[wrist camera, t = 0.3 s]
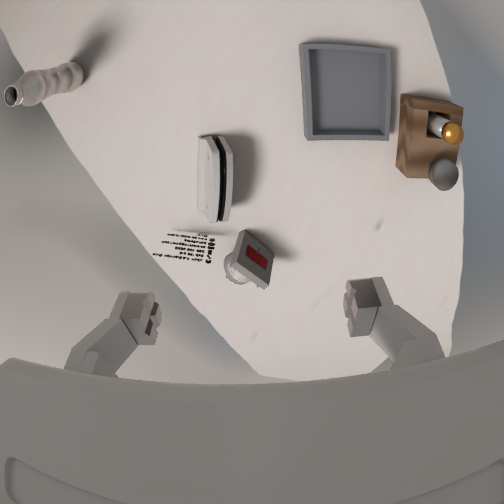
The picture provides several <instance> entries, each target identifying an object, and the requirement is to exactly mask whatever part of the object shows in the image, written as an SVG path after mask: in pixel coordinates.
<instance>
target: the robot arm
mask: <svg viewBox="0 0 504 504" xmlns="http://www.w3.org/2000/svg"><path fill="white" fill-rule="evenodd" d="M346 290H347V292H346V293H345V294H344V300H343V307H344V313H345V316H346V317H347V318H348V324H347V325H348V329H349V333H350V337H357V336H367V335H370V337H371V338H372V339H373V341H374V342H375V343H376V344H377V345H378V346H379V347H380V348H381V349H382V350H383V351H384V352H385V353H386V354H387V355H388V356H389V357H390V358H391V360H393V362H394V363H393V364H392V366H391V368H390V370H386V371H380V372H375V373H368V374H361V375H354V376H347V377H339V378H331V379H322V380H311V381H300V382H286V383H269V384H229V385H228V384H227V385H226V384H185V383H167V382H154V381H142V380H132V379H123V378H119V377H118V376H117V375H116V374H115V372H116V371H117V370H118V369H119V367H120V366H121V365H122V364H123V363H124V362H125V360H126V359H127V358H128V357H129V356H130V355H131V353H132V352H133V351H134V350H135V349H136V347H137V346H138V345H155V342H156V338H157V335H158V332H157V330H156V328H157V327H158V326H159V325H160V323H161V317H162V316H161V314H162V313H161V308H160V306H159V304H158V303H156V302H155V298H156V297H155V295H154V293H153V292H151V291H122V292H120V293H119V295H118V298H117V300H116V302H115V304H114V307H113V309H112V312H111V314H110V317H109V319H105V320H104V321H103V322H102V323H100V324H99V325H98V326H97V327H96V328H94V329H93V330H92V331H91V332H90V333H89V334H88V335H86V336H85V337H84V338H83V339H82V340H81V341H80V342H78V343H77V344H76V345H75V346H74V347H73V348H72V349H71V352H70V354H69V357H68V359H67V362H66V365H65V367H64V369H59V368H55V367H50V366H46V365H41V364H37V363H33V362H28V361H24V360H21V359H17V358H9V359H8V360H6V361H5V362H4V363H2V364H1V365H0V504H504V340H502V341H499V342H496V343H493V344H490V345H487V346H483V347H480V348H478V349H474V350H470V351H467V352H464V353H460V354H457V355H453V356H449V357H445V356H444V353H443V350H442V348H441V345H440V343H439V340H438V338H437V335H436V334H435V333H434V332H432V331H431V330H430V329H428V328H427V327H426V326H425V325H423V324H422V323H421V322H419V321H418V320H417V319H416V318H414V317H413V316H412V315H410V314H409V313H408V312H406V311H405V310H404V309H402V308H401V307H400V306H398V305H394V303H393V301H392V298H391V296H390V293H389V291H388V289H387V286H386V284H385V282H384V279H383V278H382V277H374V278H364V279H354V280H347V282H346Z"/></svg>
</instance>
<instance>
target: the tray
mask: <svg viewBox="0 0 504 504" xmlns="http://www.w3.org/2000/svg"><path fill="white" fill-rule="evenodd" d="M299 54H300V67H301V81H302V98H303V117H304V135H305V137H306V139H307V141H311V140H382V141H389V133H390V115H391V50H390V49H382V48H374V47H365V46H354V45H339V44H299Z"/></svg>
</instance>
